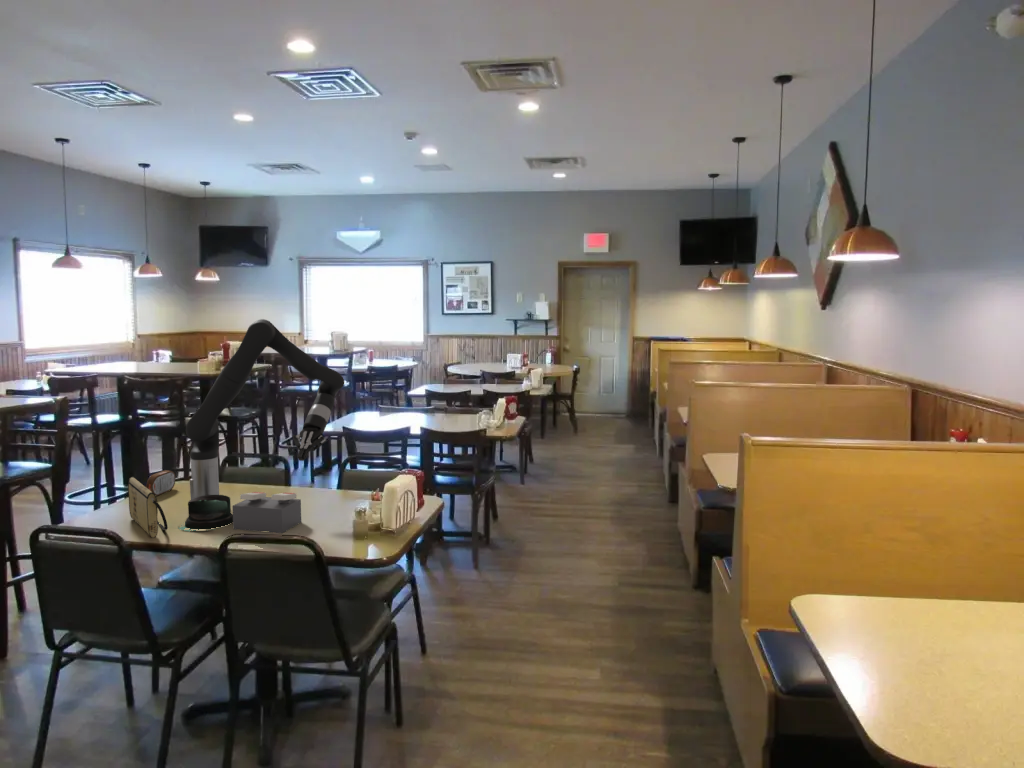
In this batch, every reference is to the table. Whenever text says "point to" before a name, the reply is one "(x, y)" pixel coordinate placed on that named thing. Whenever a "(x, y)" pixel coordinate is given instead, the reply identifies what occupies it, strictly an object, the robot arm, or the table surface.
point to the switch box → (267, 514)
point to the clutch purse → (144, 507)
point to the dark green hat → (208, 512)
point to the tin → (161, 482)
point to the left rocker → (253, 496)
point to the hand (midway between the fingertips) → (300, 459)
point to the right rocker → (283, 496)
